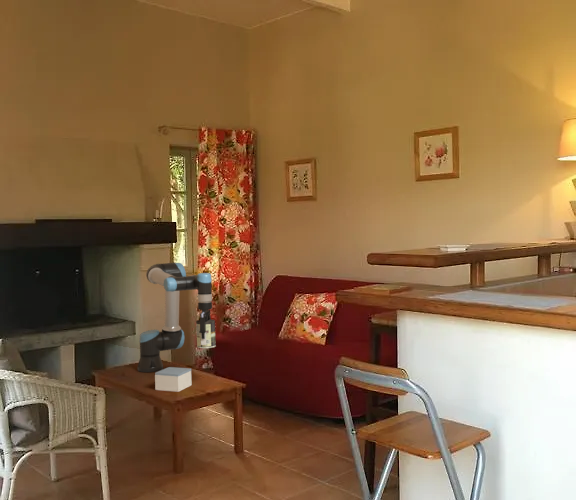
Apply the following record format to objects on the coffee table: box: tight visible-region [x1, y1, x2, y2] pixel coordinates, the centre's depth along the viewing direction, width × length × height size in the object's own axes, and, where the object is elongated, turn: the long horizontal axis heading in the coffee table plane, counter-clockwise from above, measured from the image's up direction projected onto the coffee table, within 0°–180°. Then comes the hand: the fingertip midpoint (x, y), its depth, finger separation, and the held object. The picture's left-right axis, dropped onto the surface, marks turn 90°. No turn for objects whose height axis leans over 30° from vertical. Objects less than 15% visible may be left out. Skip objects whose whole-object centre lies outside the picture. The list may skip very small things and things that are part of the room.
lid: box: [154, 366, 192, 376], centre depth 349 cm, size 14×14×1 cm
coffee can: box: [195, 318, 217, 349], centre depth 351 cm, size 10×10×14 cm
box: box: [154, 370, 192, 392], centre depth 349 cm, size 14×14×8 cm
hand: (206, 342), depth 351 cm, fingers closed on coffee can, 10 cm apart
